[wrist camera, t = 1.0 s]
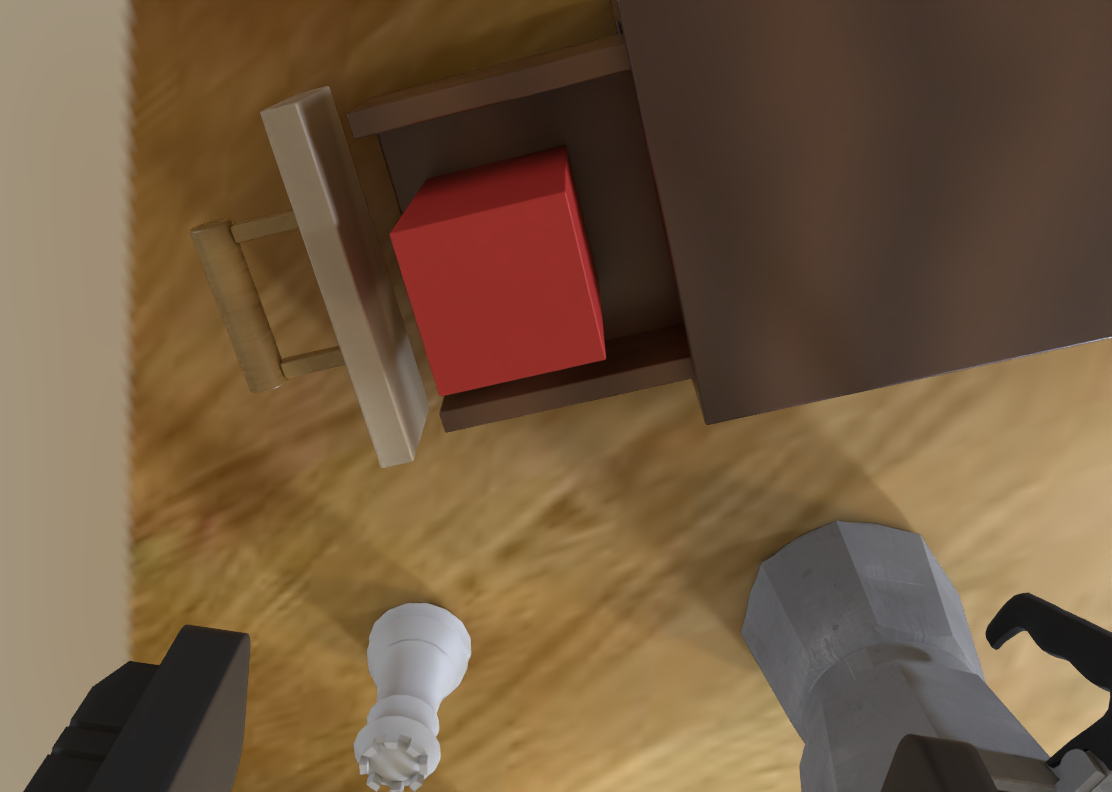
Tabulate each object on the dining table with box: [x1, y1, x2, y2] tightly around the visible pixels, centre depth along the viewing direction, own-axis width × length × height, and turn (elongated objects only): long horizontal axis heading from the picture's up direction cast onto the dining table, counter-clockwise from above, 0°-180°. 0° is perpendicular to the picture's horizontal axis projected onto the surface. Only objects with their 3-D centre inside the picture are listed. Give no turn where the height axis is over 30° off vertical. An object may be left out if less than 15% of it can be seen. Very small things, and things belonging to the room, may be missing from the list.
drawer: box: [190, 33, 695, 468], centre depth 36 cm, size 18×12×5 cm
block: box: [390, 145, 606, 396], centre depth 33 cm, size 5×5×8 cm
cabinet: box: [610, 0, 1112, 425], centre depth 34 cm, size 15×14×7 cm
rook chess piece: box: [354, 603, 471, 792], centre depth 42 cm, size 4×4×8 cm
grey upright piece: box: [741, 520, 1112, 792], centre depth 36 cm, size 15×9×18 cm, turn 147°
